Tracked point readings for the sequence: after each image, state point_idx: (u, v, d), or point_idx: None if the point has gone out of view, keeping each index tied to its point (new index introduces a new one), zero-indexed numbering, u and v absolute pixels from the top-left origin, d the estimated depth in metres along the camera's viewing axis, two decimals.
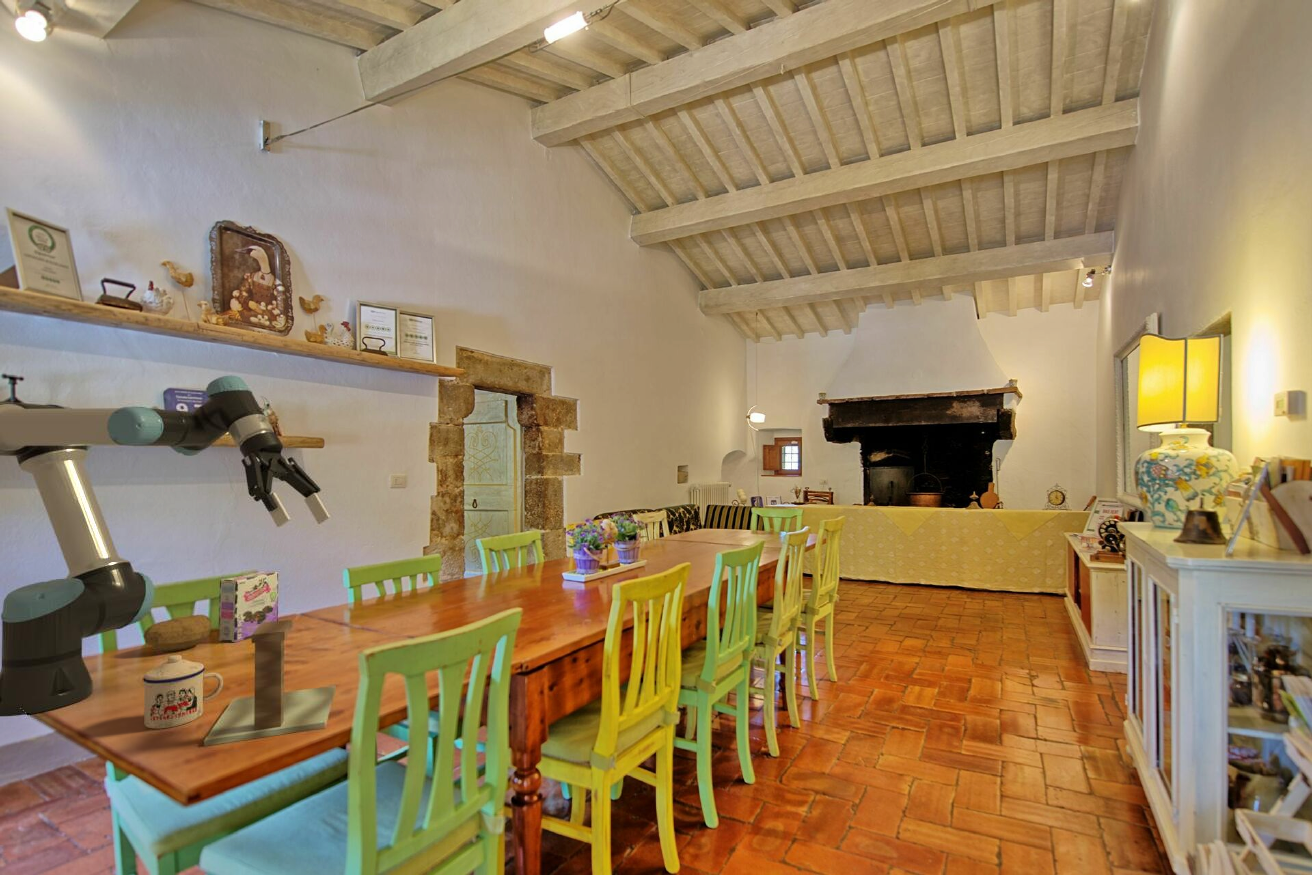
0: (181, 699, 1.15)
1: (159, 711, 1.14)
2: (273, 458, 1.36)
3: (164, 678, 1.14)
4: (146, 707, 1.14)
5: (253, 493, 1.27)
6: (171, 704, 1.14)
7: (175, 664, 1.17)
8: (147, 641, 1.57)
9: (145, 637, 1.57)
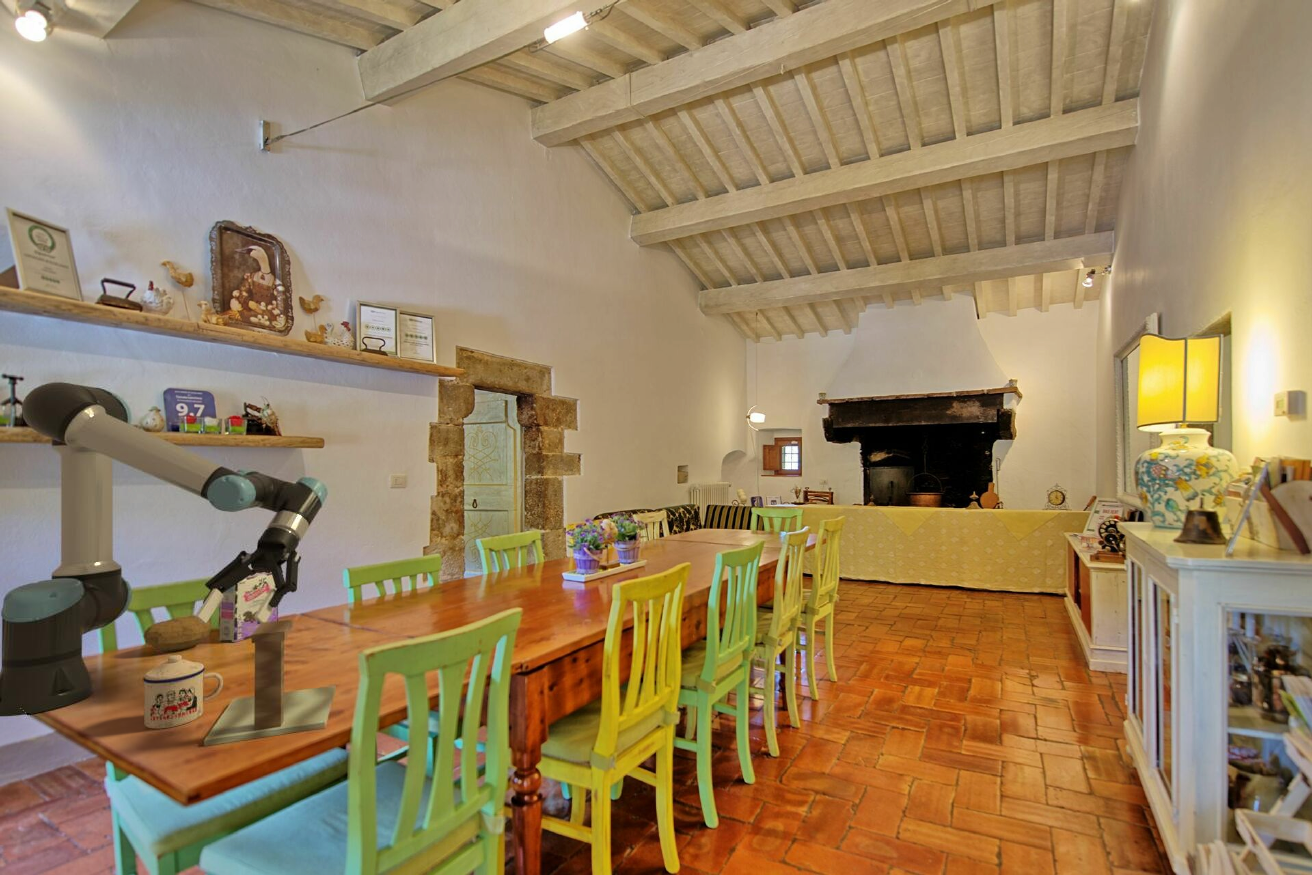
0: (181, 699, 1.15)
1: (159, 711, 1.14)
2: None
3: (164, 678, 1.14)
4: (146, 707, 1.14)
5: (291, 586, 1.33)
6: (171, 704, 1.14)
7: (175, 664, 1.17)
8: (147, 641, 1.57)
9: (145, 637, 1.57)
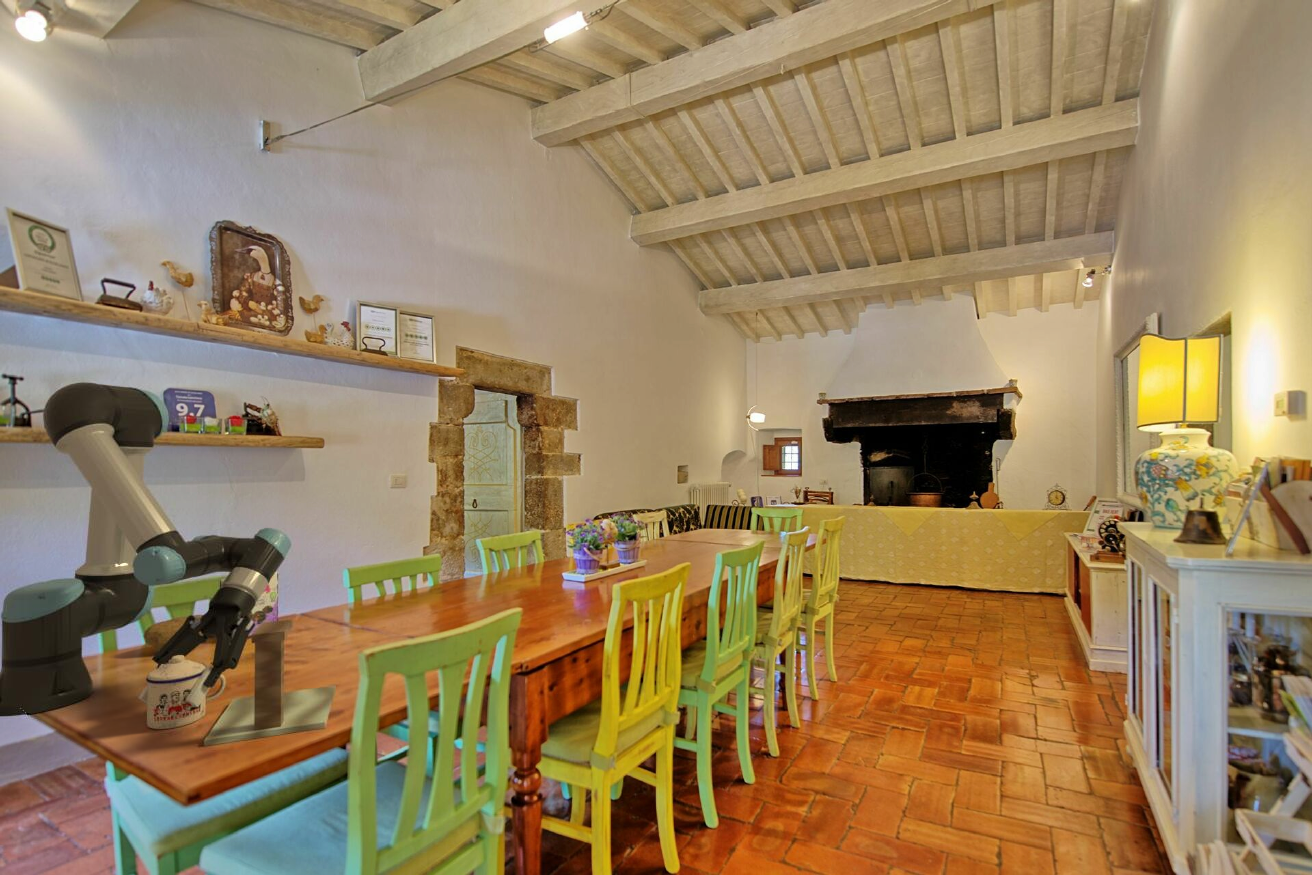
0: (185, 699, 1.15)
1: (163, 711, 1.13)
2: None
3: (168, 678, 1.14)
4: (149, 708, 1.14)
5: (230, 663, 1.20)
6: (176, 705, 1.14)
7: (179, 665, 1.16)
8: (147, 641, 1.57)
9: (145, 637, 1.57)
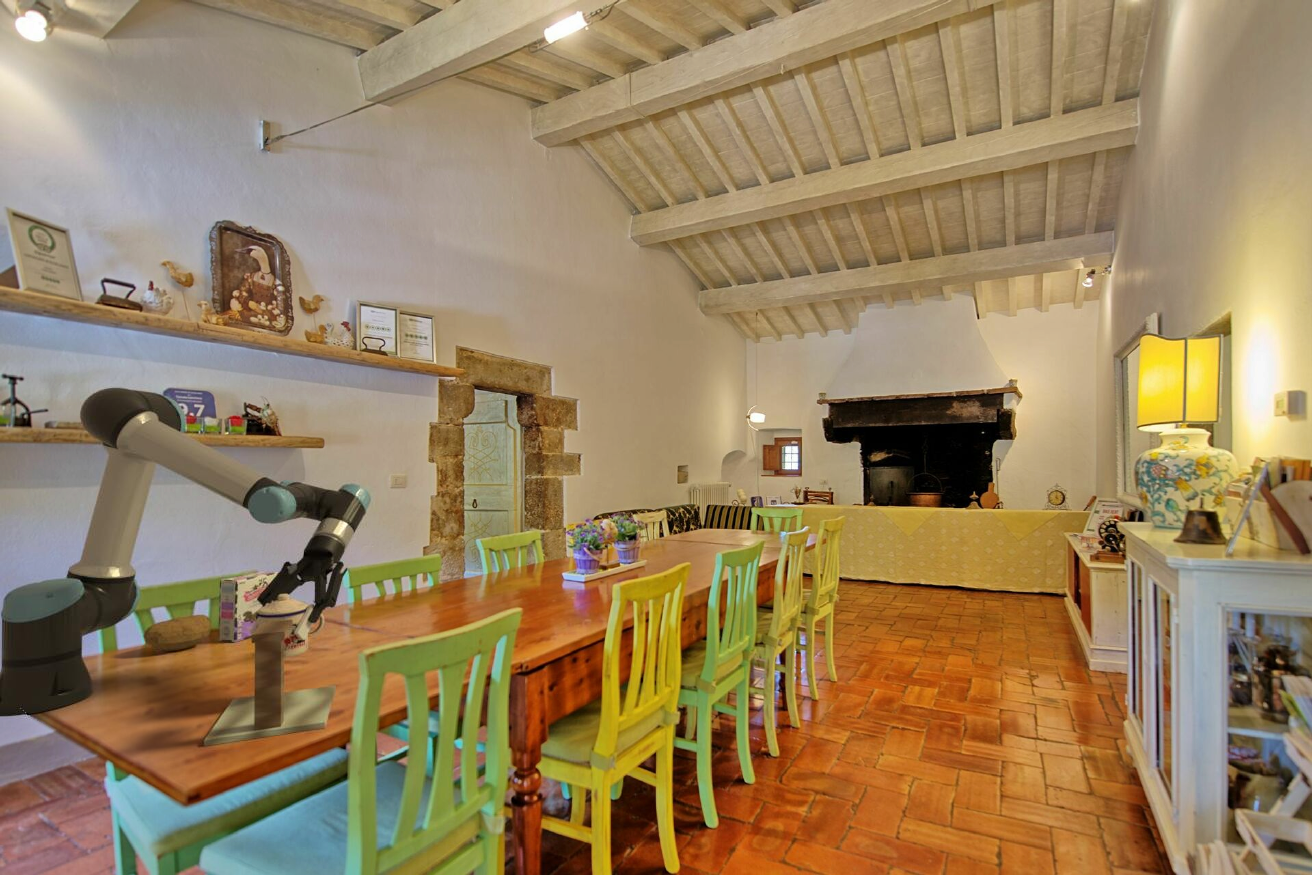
0: (293, 633, 1.25)
1: None
2: None
3: (278, 613, 1.24)
4: None
5: (330, 602, 1.30)
6: None
7: (286, 602, 1.26)
8: (147, 641, 1.57)
9: (145, 637, 1.57)
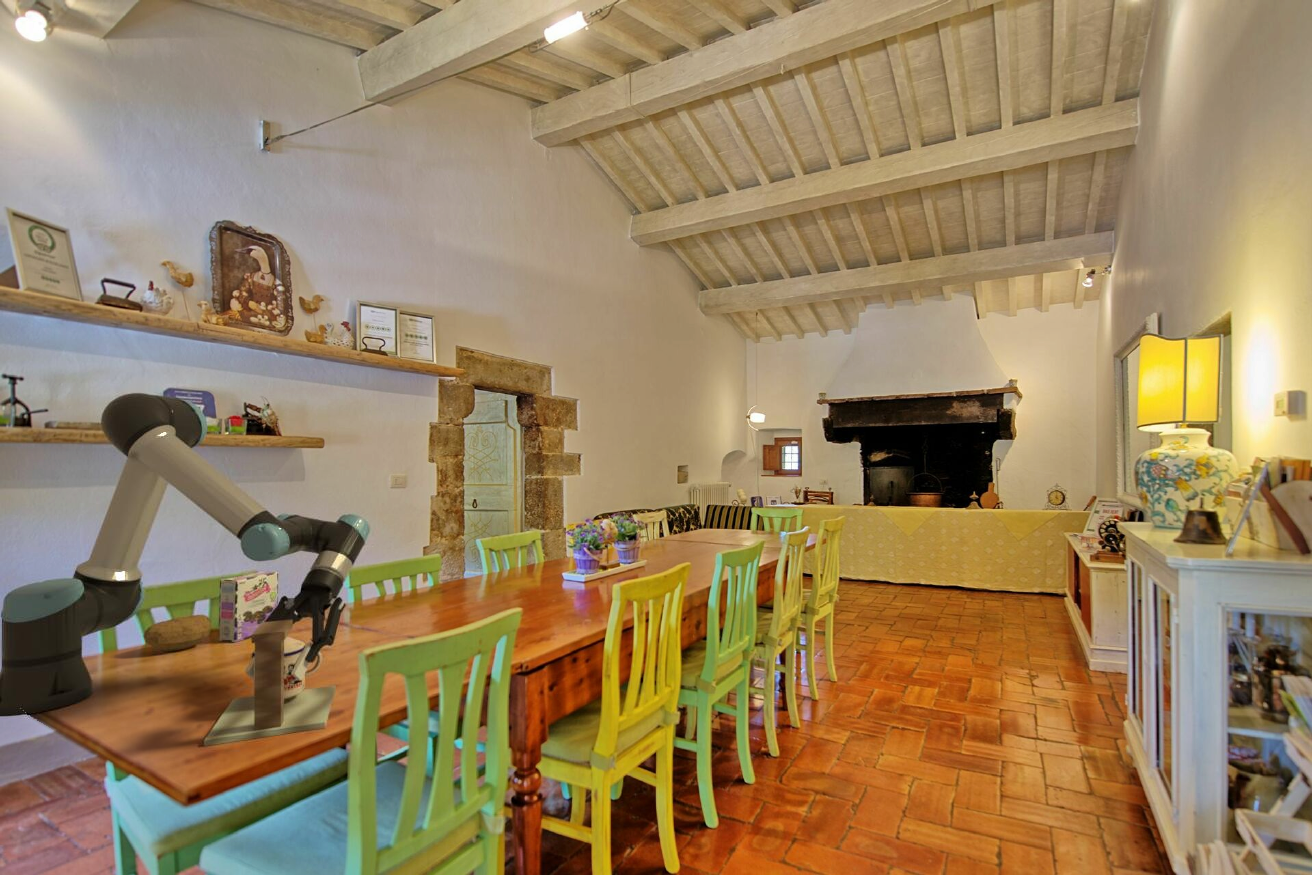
0: (290, 673, 1.22)
1: None
2: None
3: None
4: None
5: (328, 640, 1.27)
6: None
7: None
8: (147, 641, 1.57)
9: (145, 637, 1.57)
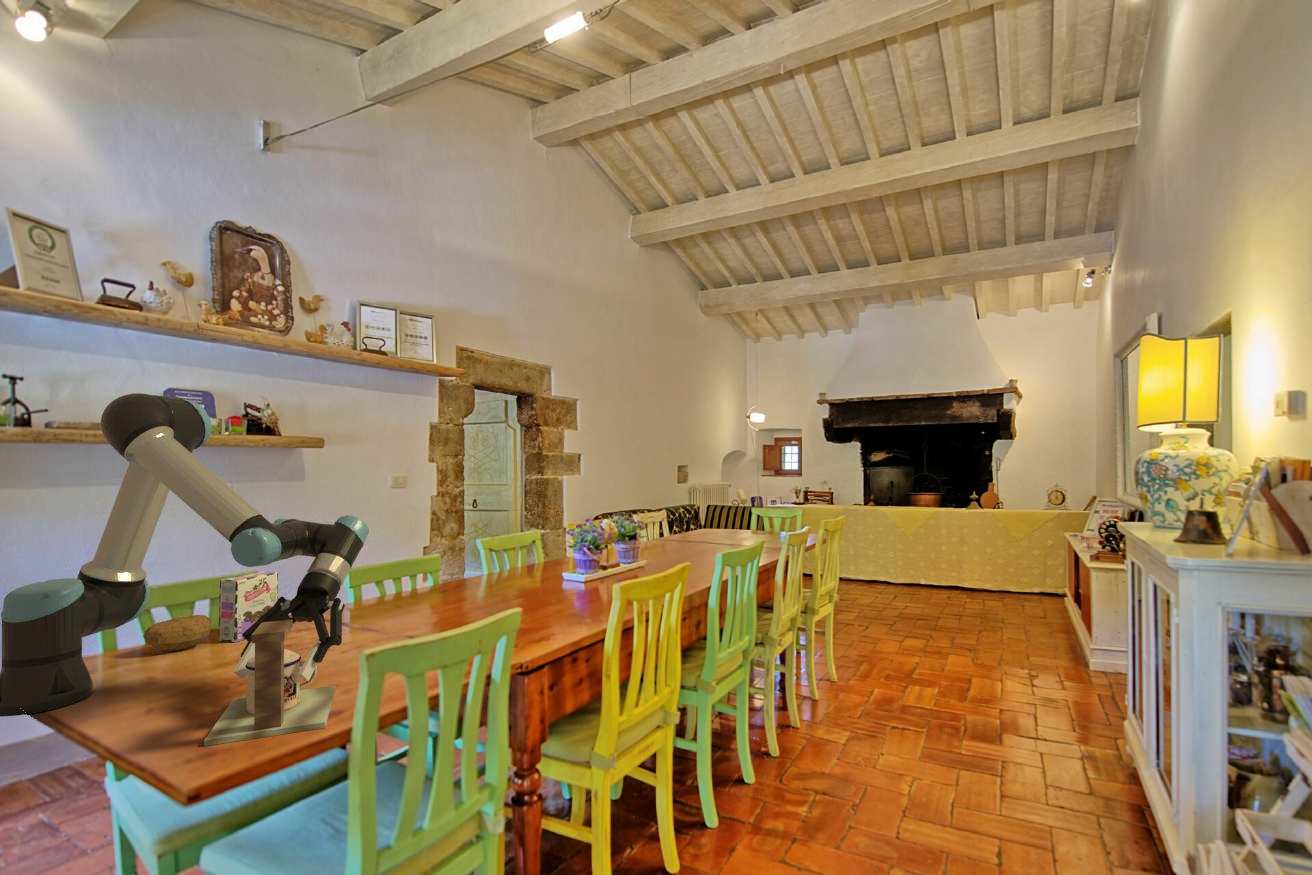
0: (284, 686, 1.18)
1: None
2: None
3: None
4: (250, 694, 1.17)
5: (336, 640, 1.23)
6: None
7: None
8: (147, 641, 1.57)
9: (145, 637, 1.57)
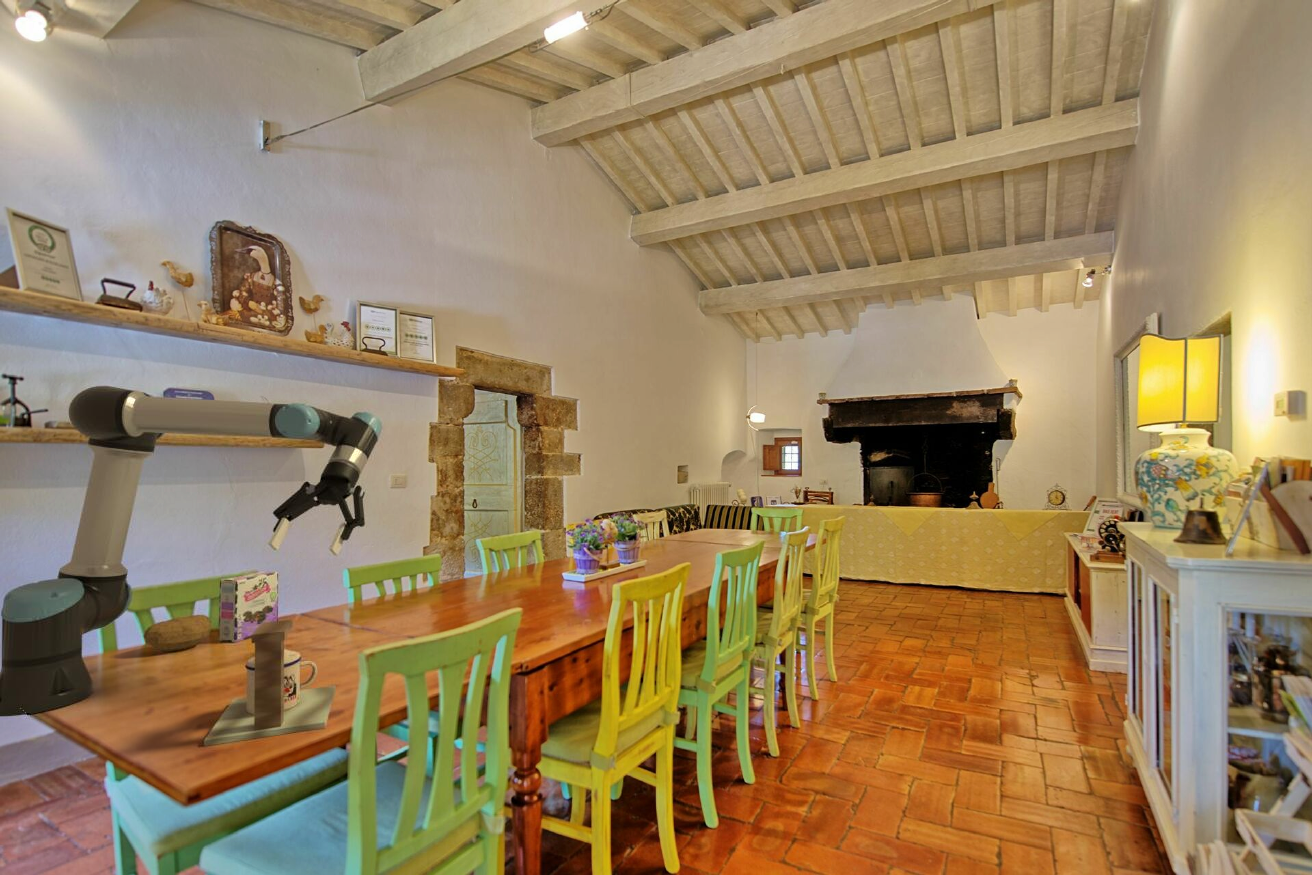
0: (284, 686, 1.18)
1: None
2: None
3: None
4: (250, 694, 1.17)
5: (360, 521, 1.39)
6: None
7: None
8: (147, 641, 1.57)
9: (145, 637, 1.57)
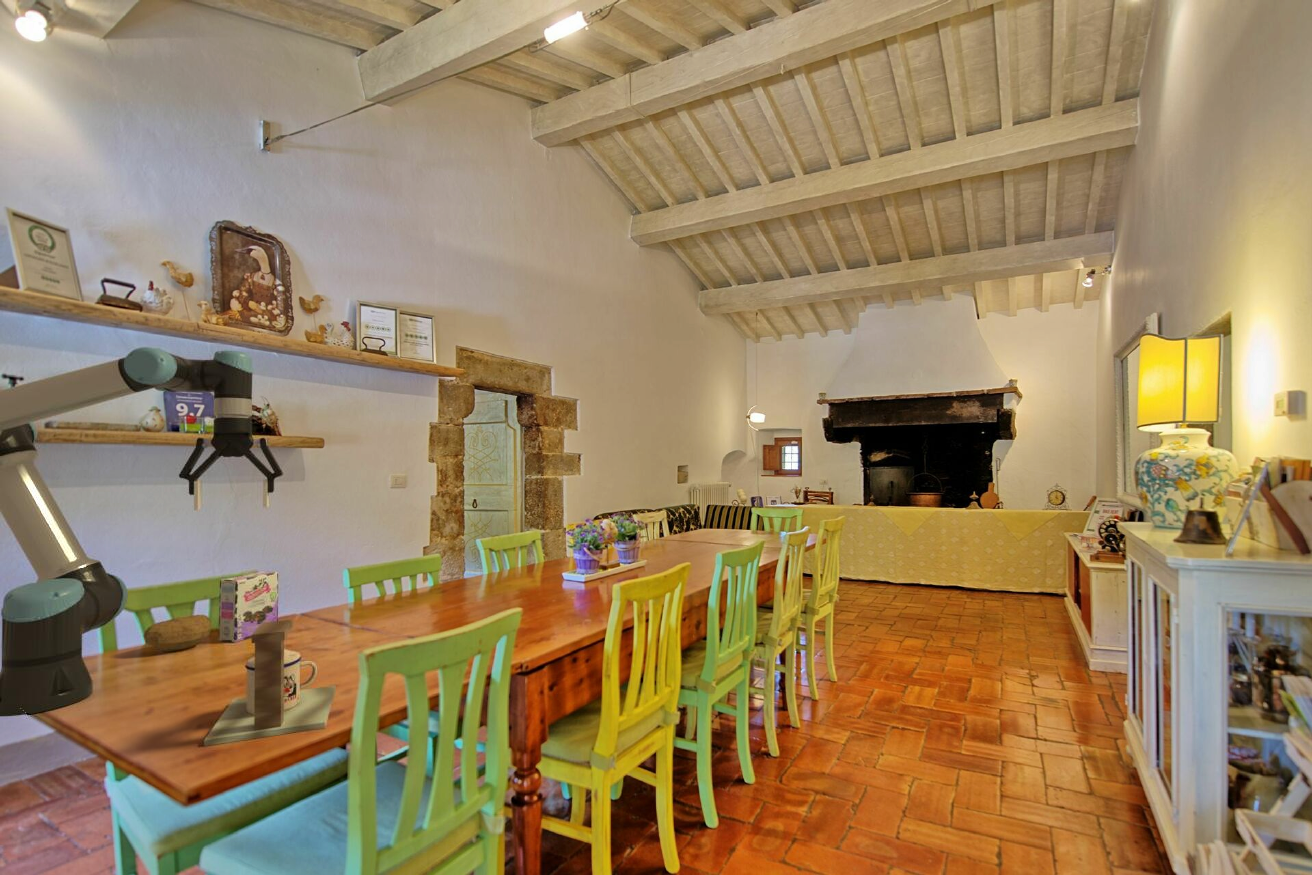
0: (284, 686, 1.18)
1: None
2: None
3: None
4: (250, 694, 1.17)
5: (281, 475, 1.53)
6: None
7: None
8: (147, 641, 1.57)
9: (145, 637, 1.57)
